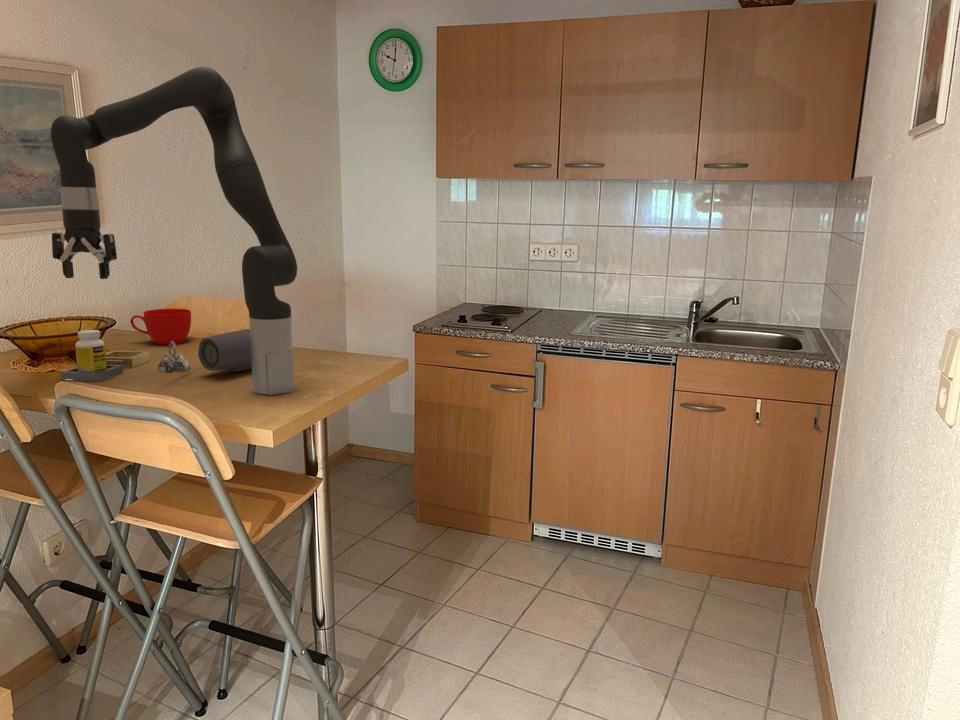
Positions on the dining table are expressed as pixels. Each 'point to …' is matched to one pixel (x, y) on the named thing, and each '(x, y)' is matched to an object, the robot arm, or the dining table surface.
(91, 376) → the graphite socket
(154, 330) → the ceramic cup
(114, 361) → the door edge sill
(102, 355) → the pill bottle
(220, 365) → the bluetooth speaker
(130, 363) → the brass socket
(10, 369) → the dining table surface
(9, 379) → the dining table surface
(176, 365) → the house of cards
